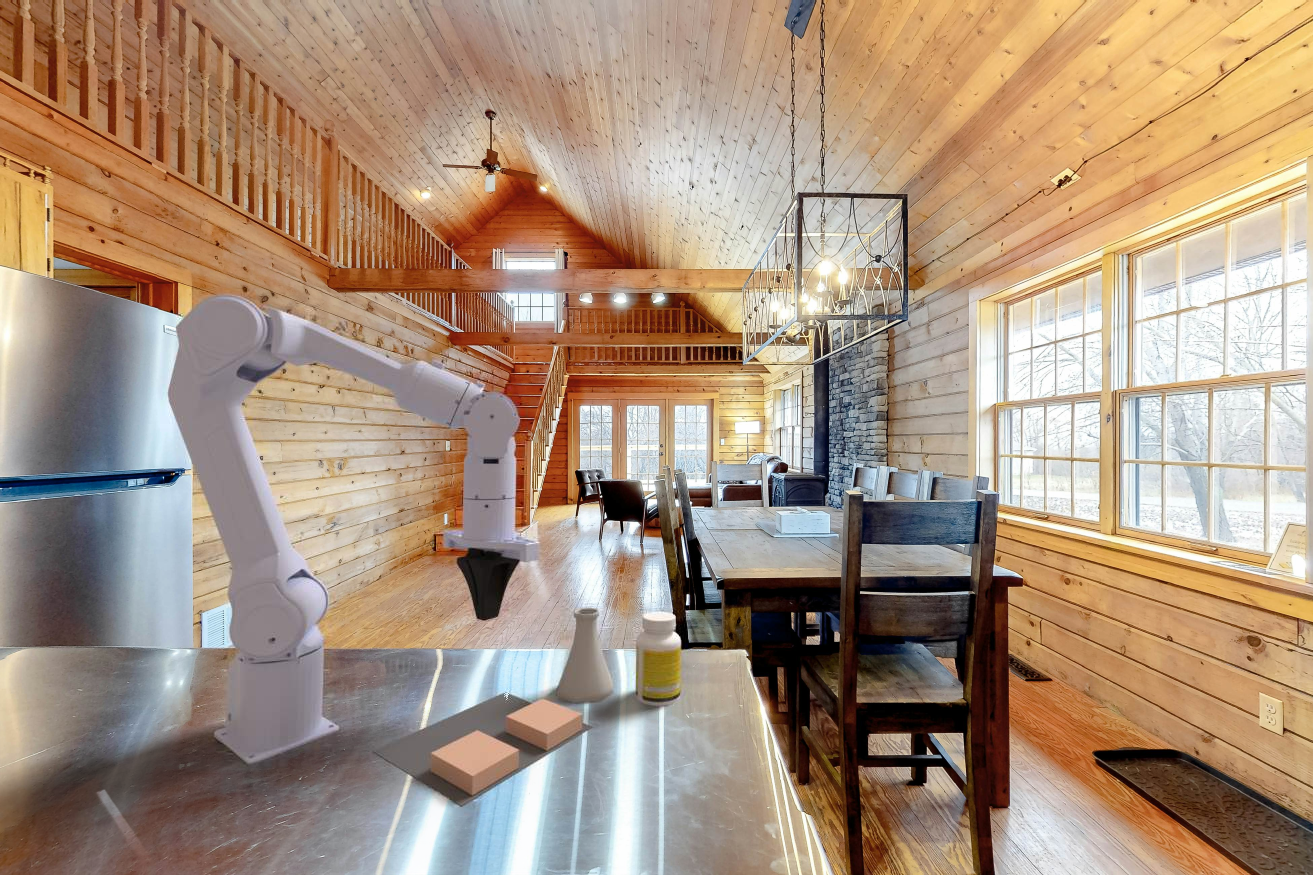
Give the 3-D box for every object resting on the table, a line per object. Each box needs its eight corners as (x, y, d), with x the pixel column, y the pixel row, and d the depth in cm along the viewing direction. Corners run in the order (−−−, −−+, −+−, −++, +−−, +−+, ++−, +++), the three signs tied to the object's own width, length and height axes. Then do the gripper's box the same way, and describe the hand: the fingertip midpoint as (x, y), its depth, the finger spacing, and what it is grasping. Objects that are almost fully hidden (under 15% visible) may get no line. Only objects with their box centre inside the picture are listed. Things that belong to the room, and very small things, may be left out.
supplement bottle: (689, 701, 65) (690, 618, 65) (651, 713, 62) (652, 625, 62) (663, 685, 69) (664, 607, 70) (626, 695, 66) (627, 613, 67)
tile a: (430, 752, 49) (472, 775, 46) (477, 730, 54) (519, 749, 50) (430, 771, 49) (472, 796, 46) (477, 747, 54) (518, 768, 50)
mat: (372, 755, 53) (372, 750, 53) (505, 695, 66) (505, 692, 66) (462, 810, 45) (462, 805, 45) (592, 730, 58) (593, 726, 58)
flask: (605, 710, 63) (606, 621, 63) (545, 703, 64) (547, 617, 64) (621, 683, 70) (622, 604, 70) (567, 678, 71) (568, 600, 71)
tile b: (506, 716, 56) (547, 733, 53) (542, 698, 61) (582, 713, 57) (505, 732, 56) (547, 751, 53) (541, 714, 60) (582, 730, 57)
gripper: (560, 499, 62) (558, 620, 61) (478, 492, 70) (476, 599, 70) (511, 503, 56) (508, 637, 56) (428, 495, 64) (426, 612, 64)
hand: (487, 617), depth 62 cm, fingers closed
